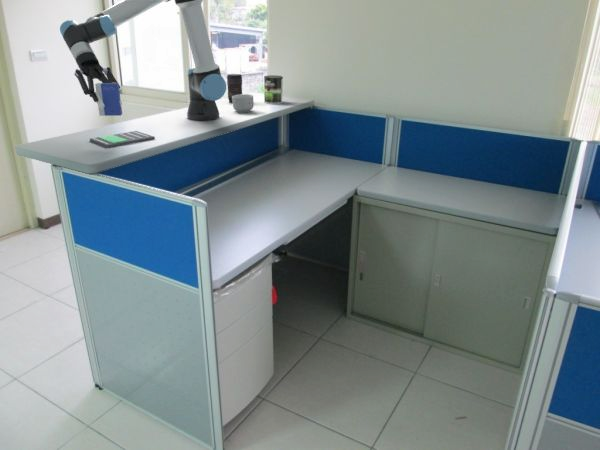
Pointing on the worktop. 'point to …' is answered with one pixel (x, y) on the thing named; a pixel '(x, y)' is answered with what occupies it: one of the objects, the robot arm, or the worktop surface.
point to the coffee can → (273, 89)
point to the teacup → (242, 102)
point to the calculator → (121, 139)
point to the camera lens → (234, 85)
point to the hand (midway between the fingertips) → (111, 106)
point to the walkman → (109, 99)
